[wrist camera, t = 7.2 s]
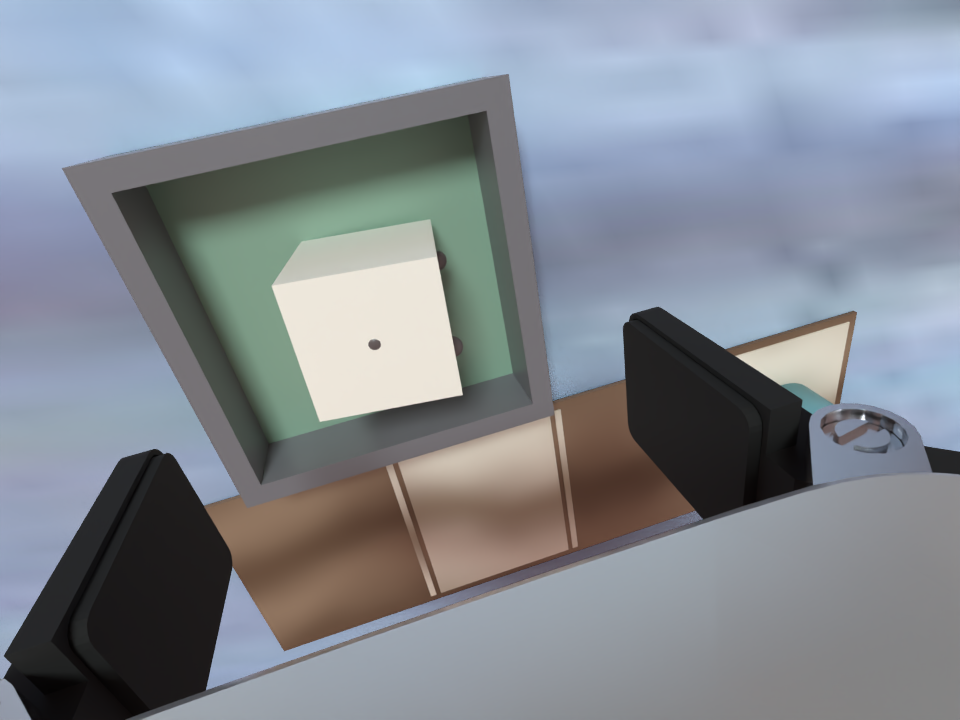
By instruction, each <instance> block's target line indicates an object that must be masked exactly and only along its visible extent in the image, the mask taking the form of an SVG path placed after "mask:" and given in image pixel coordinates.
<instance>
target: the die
mask: <svg viewBox="0 0 960 720" xmlns="http://www.w3.org/2000/svg"><path fill="white" fill-rule="evenodd" d="M446 264H447V258H446V256H445V254H444V253H443V252H441V251H438V250H436V247H435V242H434V236H433V231H432V226H431V220H430V219H428V220H422V221H417V222H411V223H405V224H399V225H394V226H388V227H382V228H376V229H371V230H365V231H359V232H353V233H348V234H342V235H336V236H330V237H325V238H319V239H313V240H307V241H302V242H301V243H300V244H299V246H298V247H297V249H296V250H295V252H294V253H293V255H292V256H291V258H290V259H289V261H288V262H287V263H286V265H285V266H284V268H283V269H282V271H281V272H280V274H279V275H278V277H277V278H276V280H275V281H274V283H273V284H272V289H273V291H274V294H275V297H276V300H277V303H278V306H279V308H280V311H281V314H282V317H283V320H284V322H285V325H286V328H287V331H288V334H289V337H290V339H291V342H292V345H293V348H294V351H295V353H296V356H297V359H298V362H299V365H300V368H301V370H302V373H303V376H304V379H305V382H306V385H307V387H308V390H309V393H310V396H311V399H312V401H313V404H314V407H315V410H316V413H317V416H318V418H319V421H320V422H322V421H327V420H333V419H338V418H343V417H349V416H354V415H359V414H364V413H370V412H375V411H380V410H386V409H391V408H396V407H402V406H407V405H412V404H417V403H423V402H428V401H433V400H439V399H444V398H449V397H455V396H460V395H463V393H462V387H461V382H460V376H459V371H458V365H457V360H456V357H457V356H459V355H460V354H461V353H462V351H463V343H462V341H461V339H460V338H458V337H456V336H452V332H451V327H450V322H449V316H448V311H447V306H446V300H445V295H444V290H443V284H442V279H441V274H440V271H441V270H443V269H444V268H445V266H446Z"/></svg>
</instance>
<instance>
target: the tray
mask: <svg viewBox="0 0 960 720" xmlns="http://www.w3.org/2000/svg"><path fill="white" fill-rule="evenodd" d="M62 169H63V171H64V173H65V175H66V177H67V178H68V180H69V182H70V184H71V186H72V188H73V190H74V191H75V193H76V195H77V197H78V199H79V201H80V202H81V204H82V206H83V208H84V210H85V212H86V213H87V215H88V217H89V219H90V221H91V223H92V224H93V226H94V228H95V230H96V232H97V234H98V235H99V237H100V239H101V241H102V243H103V245H104V246H105V248H106V250H107V252H108V254H109V256H110V257H111V259H112V261H113V263H114V265H115V267H116V268H117V270H118V272H119V274H120V276H121V278H122V279H123V281H124V283H125V285H126V287H127V289H128V290H129V292H130V294H131V296H132V298H133V300H134V301H135V303H136V305H137V307H138V309H139V311H140V312H141V314H142V316H143V318H144V320H145V322H146V323H147V325H148V327H149V329H150V331H151V333H152V334H153V336H154V338H155V340H156V342H157V344H158V345H159V347H160V349H161V351H162V353H163V355H164V356H165V358H166V360H167V362H168V364H169V366H170V367H171V369H172V371H173V373H174V375H175V377H176V378H177V380H178V382H179V384H180V386H181V388H182V389H183V391H184V393H185V395H186V397H187V399H188V400H189V402H190V404H191V406H192V408H193V410H194V411H195V413H196V415H197V417H198V419H199V421H200V422H201V424H202V426H203V428H204V430H205V432H206V433H207V435H208V437H209V439H210V441H211V443H212V444H213V446H214V448H215V450H216V452H217V454H218V455H219V457H220V459H221V461H222V463H223V465H224V466H225V468H226V470H227V472H228V474H229V476H230V477H231V479H232V481H233V483H234V485H235V487H236V488H237V490H238V492H239V494H240V496H241V498H242V499H243V501H244V503H245V505H246V507H247V508H250V507H253V506H256V505H259V504H263V503H266V502H269V501H273V500H276V499H279V498H283V497H286V496H289V495H292V494H296V493H299V492H302V491H306V490H309V489H312V488H315V487H319V486H322V485H325V484H329V483H332V482H335V481H339V480H342V479H345V478H348V477H352V476H355V475H358V474H362V473H365V472H368V471H371V470H375V469H378V468H381V467H385V466H388V465H391V464H394V463H398V462H401V461H404V460H408V459H411V458H414V457H418V456H421V455H424V454H427V453H431V452H434V451H437V450H441V449H444V448H447V447H450V446H454V445H457V444H460V443H464V442H467V441H470V440H474V439H477V438H480V437H483V436H487V435H490V434H493V433H497V432H500V431H503V430H506V429H510V428H513V427H516V426H520V425H523V424H526V423H529V422H533V421H536V420H539V419H543V418H546V417H549V416H553V415H554V407H553V400H552V393H551V385H550V378H549V370H548V363H547V355H546V348H545V341H544V333H543V326H542V318H541V311H540V304H539V296H538V289H537V281H536V274H535V267H534V259H533V252H532V244H531V237H530V230H529V222H528V215H527V207H526V200H525V192H524V185H523V178H522V170H521V163H520V155H519V148H518V141H517V133H516V126H515V118H514V111H513V104H512V96H511V89H510V81H509V74H506V75H498V76H490V77H482V78H478V79H473V80H468V81H463V82H459V83H454V84H449V85H444V86H440V87H435V88H430V89H425V90H421V91H416V92H411V93H406V94H402V95H397V96H392V97H387V98H383V99H378V100H373V101H368V102H364V103H359V104H354V105H349V106H345V107H340V108H335V109H330V110H326V111H321V112H316V113H311V114H307V115H302V116H297V117H292V118H288V119H283V120H278V121H273V122H269V123H264V124H259V125H254V126H250V127H245V128H240V129H235V130H231V131H226V132H221V133H216V134H212V135H207V136H202V137H197V138H193V139H188V140H183V141H178V142H173V143H169V144H164V145H159V146H154V147H150V148H145V149H140V150H135V151H131V152H126V153H121V154H116V155H112V156H107V157H103V158H99V159H96V160H92V161H88V162H84V163H80V164H77V165H73V166H69V167H65V168H62ZM428 219H430V220H431V226H432V231H433V236H434V242H435V247H436V250H438V251H441V252H443V253H444V254H445V256H446V258H447V264H446V266H445V268H444V269H443V270H441V271H440V274H441V279H442V284H443V290H444V295H445V300H446V306H447V311H448V316H449V322H450V327H451V332H452V336H456V337H458V338H460V339H461V341H462V343H463V351H462V353H461V354H460V355H459V356H457V357H456V360H457V365H458V371H459V376H460V382H461V387H462V393H463V395H460V396H455V397H449V398H444V399H439V400H433V401H428V402H423V403H417V404H412V405H407V406H402V407H396V408H391V409H386V410H380V411H375V412H370V413H364V414H359V415H354V416H349V417H343V418H338V419H333V420H327V421H322V422H320V421H319V418H318V416H317V413H316V410H315V407H314V404H313V401H312V399H311V396H310V393H309V390H308V387H307V385H306V382H305V379H304V376H303V373H302V370H301V368H300V365H299V362H298V359H297V356H296V353H295V351H294V348H293V345H292V342H291V339H290V337H289V334H288V331H287V328H286V325H285V322H284V320H283V317H282V314H281V311H280V308H279V306H278V303H277V300H276V297H275V294H274V291H273V289H272V284H273V283H274V281H275V280H276V278H277V277H278V275H279V274H280V272H281V271H282V269H283V268H284V266H285V265H286V263H287V262H288V261H289V259H290V258H291V256H292V255H293V253H294V252H295V250H296V249H297V247H298V246H299V244H300V243H301V242H302V241H307V240H313V239H319V238H325V237H330V236H336V235H342V234H348V233H353V232H359V231H365V230H371V229H376V228H382V227H388V226H394V225H399V224H405V223H411V222H417V221H422V220H428Z"/></svg>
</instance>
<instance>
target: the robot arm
mask: <svg viewBox="0 0 960 720" xmlns="http://www.w3.org/2000/svg"><path fill="white" fill-rule="evenodd" d="M623 339H624V358H625V378H626V397H627V417H628V427H629V431H630V433H631V436H632V437H633V439H634V440H635V442H636V443H637V444H638V445H639V446H640V447H641V448H642V450H643V451H644V452H645V453H646V454H647V455H648V456H649V458H650V459H651V460H652V461H653V462H654V463H655V464H656V466H657V467H658V468H659V469H660V470H661V471H662V473H663V474H664V475H665V476H666V477H667V478H668V479H669V481H670V482H671V483H672V484H673V485H674V486H675V487H676V489H677V490H678V491H679V492H680V493H681V494H682V495H683V497H684V498H685V499H686V500H687V501H688V502H689V503H690V505H691V506H692V507H693V508H694V509H695V510H696V512H697V513H698V514H699V515H700V516H701V517H702V518H703V520H700V521H697V522H694V523H690V524H687V525H684V526H681V527H678V528H675V529H672V530H669V531H666V532H664V533H661V534H658V535H655V536H652V537H649V538H646V539H643V540H640V541H637V542H634V543H631V544H628V545H625V546H622V547H619V548H616V549H613V550H610V551H607V552H604V553H601V554H598V555H596V556H593V557H590V558H587V559H584V560H581V561H578V562H575V563H572V564H569V565H566V566H563V567H560V568H557V569H554V570H551V571H548V572H545V573H542V574H540V575H537V576H534V577H531V578H528V579H525V580H522V581H519V582H516V583H513V584H510V585H508V586H505V587H502V588H499V589H496V590H493V591H490V592H487V593H484V594H481V595H478V596H475V597H473V598H470V599H467V600H464V601H461V602H458V603H455V604H452V605H449V606H446V607H444V608H441V609H438V610H435V611H432V612H429V613H426V614H423V615H420V616H418V617H415V618H412V619H409V620H406V621H403V622H400V623H397V624H394V625H392V626H389V627H386V628H383V629H380V630H377V631H374V632H371V633H368V634H366V635H363V636H360V637H357V638H354V639H351V640H349V641H346V642H343V643H340V644H337V645H334V646H331V647H329V648H326V649H323V650H320V651H317V652H314V653H311V654H309V655H306V656H303V657H300V658H297V659H294V660H291V661H289V662H286V663H283V664H280V665H277V666H274V667H272V668H269V669H266V670H263V671H260V672H257V673H254V674H252V675H249V676H246V677H243V678H240V679H237V680H234V681H232V682H229V683H226V684H223V685H220V686H217V687H215V688H212V689H209V690H206V687H207V682H208V677H209V673H210V668H211V664H212V659H213V654H214V650H215V645H216V640H217V636H218V631H219V627H220V622H221V617H222V613H223V608H224V604H225V599H226V594H227V590H228V585H229V580H230V576H231V571H232V565H233V564H232V555H231V552H230V549H229V547H228V546H227V544H226V542H225V541H224V539H223V537H222V536H221V534H220V532H219V531H218V529H217V527H216V526H215V524H214V522H213V521H212V519H211V517H210V516H209V514H208V512H207V511H206V509H205V507H204V506H203V504H202V502H201V501H200V499H199V497H198V496H197V494H196V492H195V491H194V489H193V487H192V486H191V484H190V482H189V481H188V479H187V477H186V476H185V474H184V472H183V471H182V469H181V467H180V466H179V464H178V462H177V461H176V459H175V458H174V456H173V455H171V454H169V453H166V454H163V453H162V452H160V451H159V450H157V449H153V450H149V451H146V452H142V453H139V454H135V455H132V456H128V457H125V458H122V459H121V460H120V461H119V462H118V463H117V465H116V467H115V469H114V470H113V472H112V474H111V475H110V477H109V479H108V480H107V482H106V484H105V485H104V487H103V489H102V491H101V492H100V494H99V496H98V497H97V499H96V501H95V502H94V504H93V506H92V507H91V509H90V511H89V513H88V514H87V516H86V518H85V519H84V521H83V523H82V524H81V526H80V528H79V530H78V531H77V533H76V535H75V536H74V538H73V540H72V541H71V543H70V545H69V546H68V548H67V550H66V552H65V553H64V555H63V557H62V558H61V560H60V562H59V563H58V565H57V567H56V568H55V570H54V572H53V574H52V575H51V577H50V579H49V580H48V582H47V584H46V585H45V587H44V589H43V590H42V592H41V594H40V596H39V597H38V599H37V601H36V602H35V604H34V606H33V607H32V609H31V611H30V612H29V614H28V616H27V618H26V619H25V621H24V623H23V624H22V626H21V628H20V629H19V631H18V633H17V634H16V636H15V638H14V640H13V641H12V643H11V645H10V646H9V648H8V650H7V651H6V653H5V655H4V657H5V658H6V659H7V660H8V661H9V662H10V663H12V664H11V666H10V668H9V669H8V671H7V673H6V675H5V677H4V678H3V679H0V720H960V452H958V451H951V450H945V449H939V448H932V447H926V446H924V445H923V442H922V439H921V436H920V434H919V433H918V431H917V430H916V428H915V427H914V426H913V425H912V424H910V423H909V422H908V421H907V420H906V419H904V418H902V417H900V416H898V415H896V414H894V413H892V412H890V411H887V410H884V409H881V408H877V407H874V406H868V405H862V404H845V403H841V404H835V405H828V406H826V407H823V408H821V409H818V410H817V411H816V412H815V413H814V414H811V413H810V412H808V411H807V410H805V409H804V408H802V402H803V400H802V399H801V398H799V397H798V396H796V395H795V394H793V393H792V392H790V391H788V390H787V389H785V388H784V387H782V386H781V385H779V384H778V383H776V382H775V381H773V380H772V379H770V378H768V377H767V376H765V375H764V374H762V373H761V372H759V371H758V370H756V369H755V368H753V367H751V366H750V365H748V364H747V363H745V362H744V361H742V360H741V359H739V358H738V357H736V356H734V355H733V354H731V353H730V352H728V351H727V350H725V349H724V348H722V347H721V346H719V345H717V344H716V343H714V342H713V341H711V340H710V339H708V338H707V337H705V336H704V335H702V334H700V333H699V332H697V331H696V330H694V329H693V328H691V327H690V326H688V325H687V324H685V323H684V322H682V321H680V320H679V319H677V318H676V317H674V316H673V315H671V314H670V313H668V312H667V311H665V310H663V309H662V308H660V307H655V308H651V309H648V310H644V311H641V312H637V313H634V314H632V315H631V316H630V319H629V322H626V323H625V324H624V326H623Z"/></svg>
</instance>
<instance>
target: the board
mask: <svg viewBox="0 0 960 720" xmlns="http://www.w3.org/2000/svg"><path fill="white" fill-rule="evenodd" d="M856 315H857V312H855V311H852V312H848V313H845V314H842V315H838V316H835V317H832V318H828V319H825V320H822V321H818V322H815V323H812V324H808V325H805V326H802V327H798V328H795V329H792V330H788V331H785V332H782V333H778V334H775V335H772V336H768V337H765V338H762V339H758V340H755V341H752V342H748V343H745V344H742V345H738V346H735V347H732V348H728V349H725V350H727V351H728V352H730V353H731V354H733V355H734V356H736V357H738V358H739V359H741V360H742V361H744V362H745V363H747V364H748V365H750V366H751V367H753V368H755V369H756V370H758V371H759V372H761V373H762V374H764V375H765V376H767V377H768V378H770V379H772V380H773V381H775V382H776V383H778V384H779V385H784V384H789V383H799V384H802V385H804V386H806V387H808V388H809V389H811V390H812V391H814V392H815V393H817V394H819V395H820V396H822V397H823V398H825V399H826V400H828V401H830V402H831V403H833V404H834V405H835V404H840V399H841V394H842V389H843V383H844V378H845V373H846V367H847V362H848V357H849V352H850V346H851V341H852V336H853V330H854V325H855V320H856ZM553 407H554V415H553V416H549V417H546V418H543V419H539V420H536V421H533V422H529V423H526V424H523V425H520V426H516V427H513V428H510V429H506V430H503V431H500V432H497V433H493V434H490V435H487V436H483V437H480V438H477V439H474V440H470V441H467V442H464V443H460V444H457V445H454V446H450V447H447V448H444V449H441V450H437V451H434V452H431V453H427V454H424V455H421V456H418V457H414V458H411V459H408V460H404V461H401V462H398V463H394V464H391V465H388V466H385V467H381V468H378V469H375V470H371V471H368V472H365V473H362V474H358V475H355V476H352V477H348V478H345V479H342V480H339V481H335V482H332V483H329V484H325V485H322V486H319V487H315V488H312V489H309V490H306V491H302V492H299V493H296V494H292V495H289V496H286V497H283V498H279V499H276V500H273V501H269V502H266V503H263V504H259V505H256V506H253V507H250V508H247V507H246V505H245V503H244V501H243V499H242V498H241V496H240V495H238V496H235V497H232V498H228V499H225V500H222V501H218V502H215V503H212V504H208V505H205V506H204V507H205V509H206V511H207V512H208V514H209V516H210V517H211V519H212V521H213V522H214V524H215V526H216V527H217V529H218V531H219V532H220V534H221V536H222V537H223V539H224V541H225V542H226V544H227V546H228V547H229V549H230V552H231V555H232V564H233V565H232V566H233V568H234V569H235V571H236V573H237V574H238V576H239V578H240V579H241V581H242V583H243V584H244V586H245V588H246V589H247V591H248V592H249V594H250V596H251V597H252V599H253V601H254V602H255V604H256V606H257V607H258V609H259V611H260V612H261V614H262V615H263V617H264V619H265V620H266V622H267V624H268V625H269V627H270V629H271V630H272V632H273V633H274V635H275V637H276V638H277V640H278V642H279V643H280V645H281V647H282V648H283V650H284V651H286V650H289V649H292V648H295V647H298V646H301V645H303V644H306V643H309V642H312V641H315V640H318V639H321V638H324V637H327V636H330V635H333V634H336V633H339V632H342V631H344V630H347V629H350V628H353V627H356V626H359V625H362V624H365V623H368V622H371V621H374V620H377V619H380V618H382V617H385V616H388V615H391V614H394V613H397V612H400V611H403V610H406V609H409V608H412V607H415V606H418V605H421V604H423V603H426V602H429V601H432V600H435V599H438V598H441V597H444V596H447V595H450V594H453V593H456V592H459V591H461V590H464V589H467V588H470V587H473V586H476V585H479V584H482V583H485V582H488V581H491V580H494V579H497V578H500V577H502V576H505V575H508V574H511V573H514V572H517V571H520V570H523V569H526V568H529V567H532V566H535V565H538V564H540V563H543V562H546V561H549V560H552V559H555V558H558V557H561V556H564V555H567V554H570V553H573V552H576V551H579V550H581V549H584V548H587V547H590V546H593V545H596V544H599V543H602V542H605V541H608V540H611V539H614V538H617V537H619V536H622V535H625V534H628V533H631V532H634V531H637V530H640V529H643V528H646V527H649V526H652V525H655V524H658V523H660V522H663V521H666V520H669V519H672V518H675V517H678V516H681V515H684V514H687V513H690V512H693V511H696V510H695V509H694V508H693V507H692V506H691V505H690V503H689V502H688V501H687V500H686V499H685V498H684V497H683V495H682V494H681V493H680V492H679V491H678V490H677V489H676V487H675V486H674V485H673V484H672V483H671V482H670V481H669V479H668V478H667V477H666V476H665V475H664V474H663V473H662V471H661V470H660V469H659V468H658V467H657V466H656V464H655V463H654V462H653V461H652V460H651V459H650V458H649V456H648V455H647V454H646V453H645V452H644V451H643V450H642V448H641V447H640V446H639V445H638V444H637V443H636V442H635V440H634V439H633V437H632V436H631V433H630V431H629V427H628V417H627V397H626V379H625V380H622V381H618V382H615V383H612V384H608V385H605V386H602V387H598V388H595V389H592V390H588V391H585V392H582V393H578V394H575V395H572V396H568V397H565V398H562V399H558V400H555V401H553Z"/></svg>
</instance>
